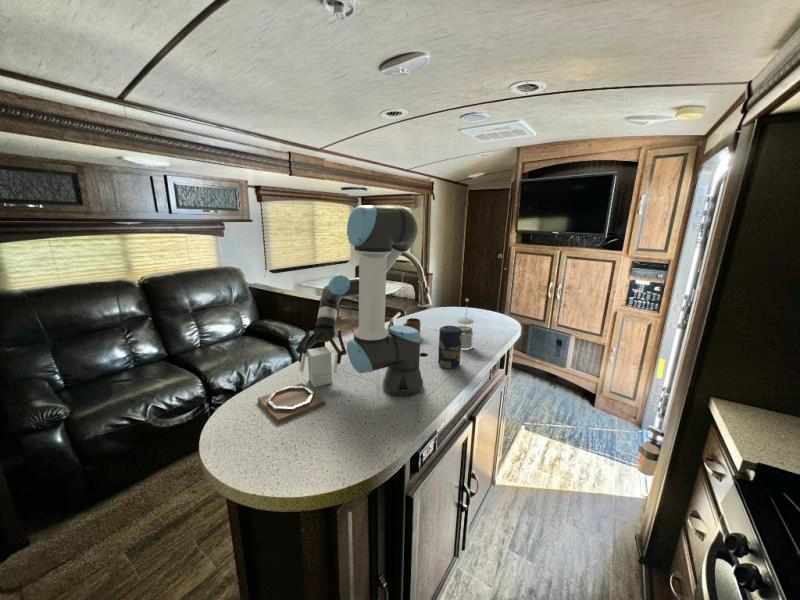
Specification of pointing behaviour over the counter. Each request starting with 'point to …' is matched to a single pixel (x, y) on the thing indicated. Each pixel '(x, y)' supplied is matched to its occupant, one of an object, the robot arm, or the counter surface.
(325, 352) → the supplement box
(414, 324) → the mug
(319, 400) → the walnut board
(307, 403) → the metal ring
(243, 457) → the counter surface
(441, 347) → the canister
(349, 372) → the counter surface
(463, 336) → the french press
